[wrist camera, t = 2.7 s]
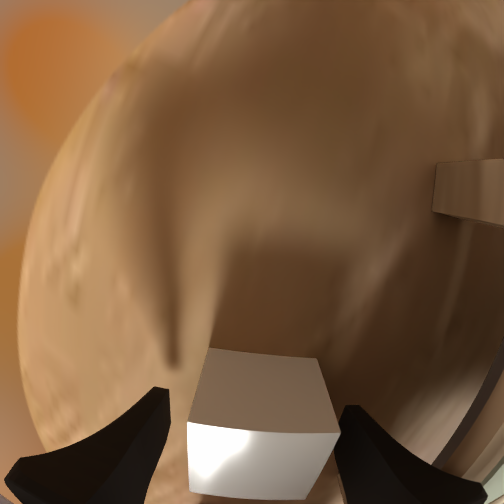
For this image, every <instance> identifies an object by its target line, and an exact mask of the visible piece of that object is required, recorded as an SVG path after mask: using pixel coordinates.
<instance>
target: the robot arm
mask: <svg viewBox="0 0 504 504" xmlns="http://www.w3.org/2000/svg"><path fill="white" fill-rule="evenodd" d="M170 424H171V417H170V398H169V389H164V388H160V387H153V388H152V389H151V390H150V391H149V392H148V393H147V394H146V395H144V396H143V397H142V398H141V399H140V400H139V401H138V402H137V403H136V404H135V405H133V406H132V407H131V408H130V409H129V410H127V411H126V412H125V413H124V414H123V415H121V416H120V417H119V418H117V419H116V420H115V421H113V422H112V423H110V424H109V425H108V426H106V427H105V428H103V429H101V430H100V431H98V432H96V433H95V434H93V435H91V436H89V437H87V438H85V439H83V440H81V441H79V442H77V443H75V444H72V445H70V446H67V447H64V448H61V449H58V450H55V451H52V452H49V453H45V454H40V455H35V456H29V457H22V458H20V459H19V460H18V461H17V462H16V463H15V464H14V466H13V467H12V469H11V470H10V471H9V473H8V474H7V476H6V477H5V479H4V481H5V483H6V485H7V487H8V488H9V489H10V490H11V492H12V493H13V494H14V495H15V496H16V497H17V498H18V499H19V501H20V502H21V503H22V504H144V501H145V497H146V493H147V489H148V486H149V483H150V481H151V478H152V476H153V473H154V471H155V468H156V466H157V463H158V461H159V458H160V456H161V454H162V451H163V449H164V446H165V444H166V440H167V436H168V433H169V428H170ZM338 425H339V428H340V431H341V434H340V436H339V438H338V440H337V442H336V444H335V446H334V455H335V459H336V463H337V467H338V470H339V474H340V477H341V481H342V485H343V488H344V492H345V495H346V500H347V504H484V503H485V501H486V500H487V498H488V494H487V493H486V491H485V489H484V488H483V486H482V484H481V483H480V482H475V481H471V480H467V479H463V478H460V477H457V476H454V475H452V474H449V473H447V472H444V471H442V470H440V469H438V468H436V467H434V466H432V465H430V464H428V463H426V462H425V461H423V460H421V459H420V458H418V457H417V456H415V455H414V454H412V453H411V452H410V451H408V450H407V449H406V448H404V447H403V446H402V445H401V444H399V443H398V442H397V441H396V440H395V439H394V438H392V437H391V436H390V435H389V434H388V433H387V432H386V431H385V430H384V429H383V428H382V427H381V426H380V425H379V424H378V423H377V422H376V421H375V420H374V419H373V418H372V417H371V416H370V415H369V414H368V413H367V412H366V411H365V410H364V409H363V408H362V407H361V406H360V405H346V406H345V408H344V411H343V413H342V415H341V418H340V420H339V423H338ZM0 504H13V503H12V502H11V501H9V500H8V499H6V498H5V497H4V496H2V495H1V494H0Z"/></svg>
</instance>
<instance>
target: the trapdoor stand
mask: <svg viewBox="0 0 504 504" xmlns="http://www.w3.org/2000/svg"><path fill="white" fill-rule="evenodd" d="M432 211H433V212H437V213H441V214H444V215H448V216H452V217H456V218H460V219H463V220H468V221H473V222H477V223H482V224H486V225H491V226H495V227H500V228H504V159H486V160H471V161H459V162H447V163H437V166H436V178H435V188H434V197H433V204H432ZM503 456H504V370H503V372H502V374H501V376H500V378H499V380H498V382H497V384H496V386H495V388H494V390H493V392H492V394H491V396H490V397H489V399H488V401H487V403H486V404H485V406H484V408H483V410H482V411H481V413H480V415H479V416H478V418H477V419H476V421H475V423H474V424H473V426H472V427H471V429H470V430H469V432H468V433H467V435H466V436H465V438H464V439H463V441H462V442H461V443H460V445H459V446H458V448H457V449H456V450H455V452H454V453H453V454H452V456H451V457H450V458H449V459H448V461H447V462H446V463H445V465H444V466H443V467H442V468H441V469H440V470H442V471H444V472H447V473H449V474H452V475H454V476H457V477H460V478H463V479H467V480H471V481H475V482H480V483H481V482H482V481H483V479H484V478H485V477H486V476H487V475H488V474H489V473H490V472H491V470H492V469H493V468H494V467H495V466H496V465H497V463H498V462H499V461H500V460H501V459H502V457H503ZM337 477H338V481H339V485H340V489H341V494H342V498H343V502H344V504H347V500H346V495H345V492H344V488H343V485H342V481H341V477H340V474H338V475H337ZM503 503H504V494H503V495H501V496H500V497H498V498H497V499H495V500H493V501H492V502H490V503H488V504H503Z"/></svg>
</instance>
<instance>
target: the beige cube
mask: <svg viewBox="0 0 504 504" xmlns="http://www.w3.org/2000/svg"><path fill="white" fill-rule="evenodd" d="M187 434H188V469H189V490H190V492H194V493H201V494H207V495H214V496H222V497H232V498H243V499H260V500H305V499H306V497H307V495H308V494H309V492H310V490H311V489H312V487H313V485H314V483H315V482H316V480H317V478H318V476H319V475H320V473H321V471H322V469H323V467H324V465H325V464H326V462H327V460H328V458H329V456H330V454H331V452H332V450H333V448H334V446H335V444H336V442H337V440H338V438H339V436H340V434H341V431H340V428H339V425H338V422H337V419H336V416H335V412H334V409H333V406H332V403H331V400H330V397H329V394H328V391H327V388H326V385H325V382H324V379H323V376H322V373H321V370H320V367H319V364H318V361H317V358H302V357H289V356H277V355H266V354H257V353H248V352H239V351H232V350H224V349H217V348H210V347H209V348H208V352H207V355H206V358H205V362H204V365H203V369H202V372H201V376H200V379H199V383H198V386H197V390H196V393H195V397H194V400H193V404H192V407H191V411H190V414H189V418H188V422H187Z"/></svg>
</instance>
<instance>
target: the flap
mask: <svg viewBox="0 0 504 504" xmlns="http://www.w3.org/2000/svg"><path fill="white" fill-rule="evenodd" d="M503 370H504V338H503V340H502V343H501V345H500V348H499V350H498V352H497V355H496V357H495V359H494V362H493V364H492V366H491V368H490V370H489V372H488V375H487V377H486V379H485V381H484V383H483V385H482V387H481V388H480V390H479V392H478V394H477V396H476V398H475V400H474V401H473V403H472V405H471V407H470V408H469V410H468V412H467V414H466V415H465V417H464V418H463V420H462V422H461V423H460V425H459V426H458V428H457V430H456V431H455V433H454V434H453V436H452V437H451V439H450V440H449V441H448V443H447V444H446V446H445V447H444V449H443V450H442V451H441V453H440V454H439V455H438V457H437V458H436V459H435V461H434V462H433V463H432V466H434V467H436V468H438V469H441V468H442V467H443V466H444V465H445V463H446V462H447V461H448V459H449V458H450V457H451V456H452V454H453V453H454V452H455V450H456V449H457V448H458V446H459V445H460V443H461V442H462V441H463V439H464V438H465V436H466V435H467V433H468V432H469V430H470V429H471V427H472V426H473V424H474V423H475V421H476V419H477V418H478V416H479V415H480V413H481V411H482V410H483V408H484V406H485V404H486V403H487V401H488V399H489V397H490V396H491V394H492V392H493V390H494V388H495V386H496V384H497V382H498V380H499V378H500V376H501V374H502V372H503ZM481 484H482V486H483V488H484V489H485V491H486V493H487V494H488V498H487V500H486V501H485V503H484V504H488V503H490V502H492V501H493V500H495V499H497V498H498V497H500V496H501V495H503V494H504V456H503V457H502V459H501V460H500V461H499V462H498V463H497V465H496V466H495V467H494V468H493V469H492V470H491V472H490V473H489V474H488V475H487V476H486V477H485V478H484V479H483V481H482V482H481Z"/></svg>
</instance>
